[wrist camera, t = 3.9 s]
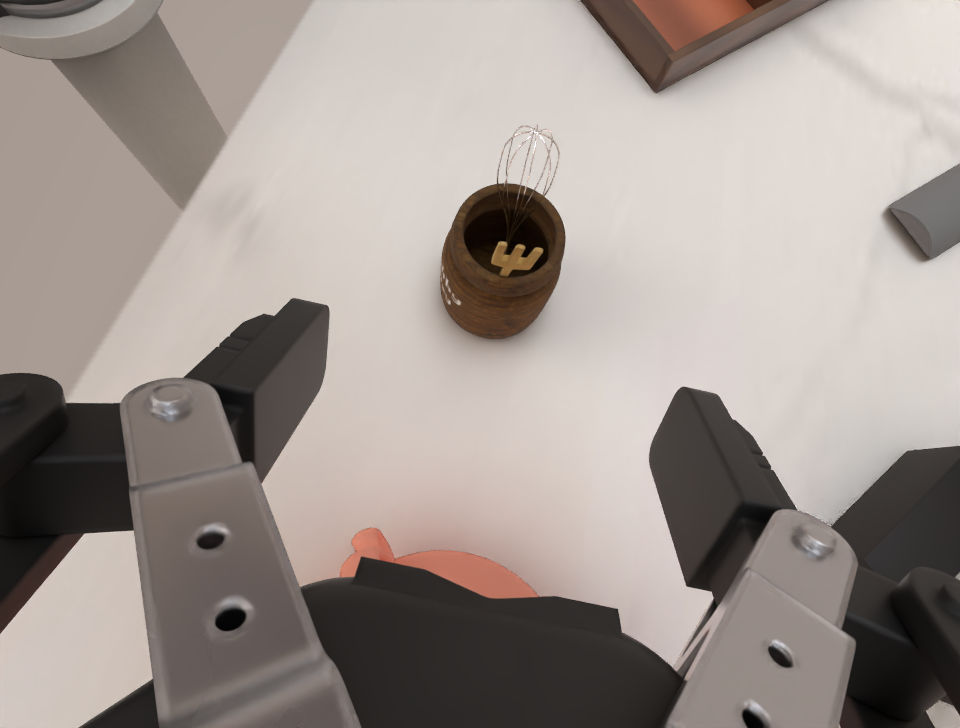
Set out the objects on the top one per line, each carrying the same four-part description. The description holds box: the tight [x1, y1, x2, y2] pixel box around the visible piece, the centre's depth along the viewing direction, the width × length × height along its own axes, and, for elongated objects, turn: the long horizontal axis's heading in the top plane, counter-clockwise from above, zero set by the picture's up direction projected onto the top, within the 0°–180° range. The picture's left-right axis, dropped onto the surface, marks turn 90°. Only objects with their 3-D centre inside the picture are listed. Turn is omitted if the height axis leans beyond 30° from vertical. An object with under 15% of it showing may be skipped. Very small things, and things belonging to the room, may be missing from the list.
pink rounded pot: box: [340, 528, 539, 599], centre depth 20 cm, size 12×14×10 cm
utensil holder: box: [440, 124, 565, 338], centre depth 24 cm, size 6×6×12 cm
